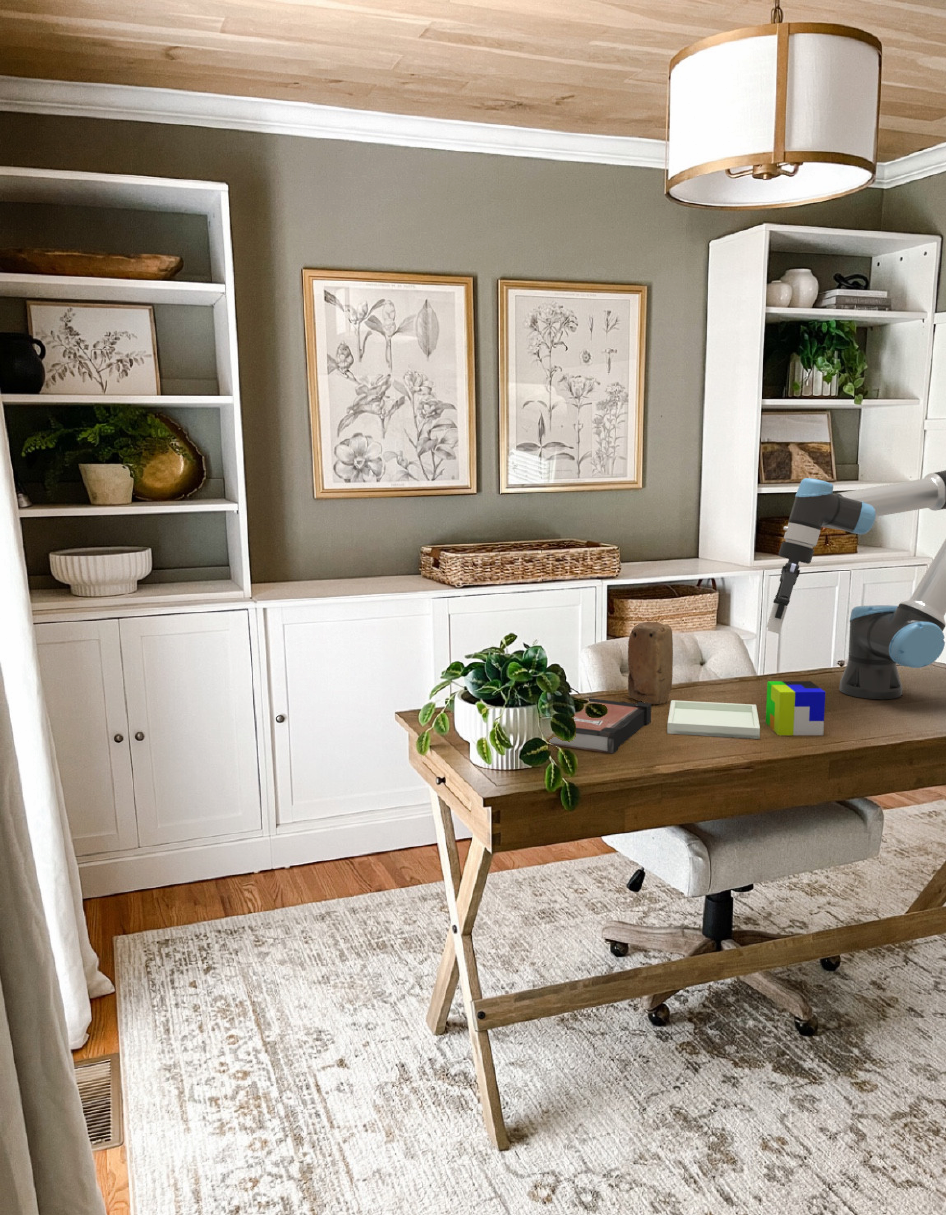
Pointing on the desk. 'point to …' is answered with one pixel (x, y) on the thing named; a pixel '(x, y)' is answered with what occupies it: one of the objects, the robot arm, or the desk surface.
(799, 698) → the puzzle toy
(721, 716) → the tray
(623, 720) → the book
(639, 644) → the block
